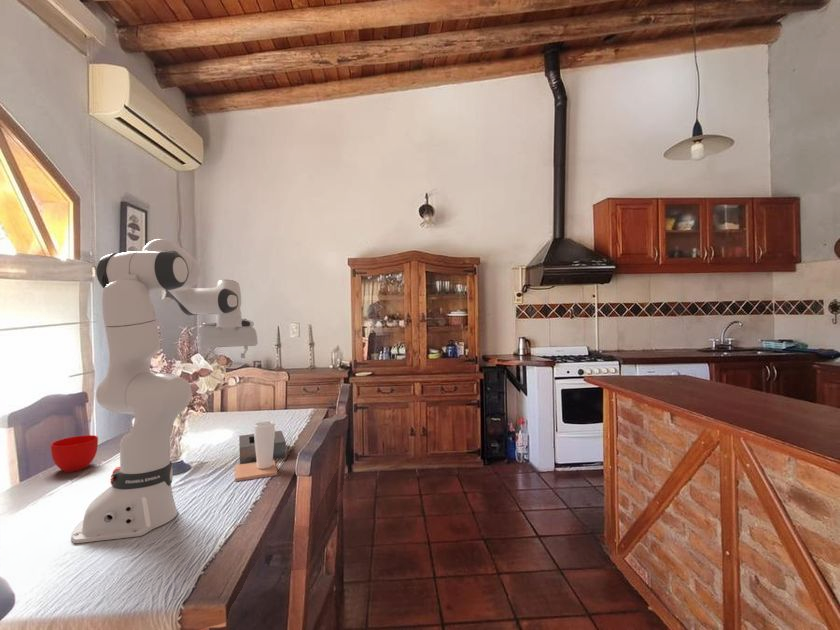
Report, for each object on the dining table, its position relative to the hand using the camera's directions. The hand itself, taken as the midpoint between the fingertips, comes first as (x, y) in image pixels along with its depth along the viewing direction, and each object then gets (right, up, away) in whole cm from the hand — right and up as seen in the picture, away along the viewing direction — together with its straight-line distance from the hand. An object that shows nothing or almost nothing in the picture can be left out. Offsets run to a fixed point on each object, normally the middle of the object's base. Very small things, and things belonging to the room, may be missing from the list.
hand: (229, 358), depth 162 cm
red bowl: (-50, -38, -10) cm, 64 cm away
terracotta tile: (+16, -37, -17) cm, 44 cm away
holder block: (+12, -37, +1) cm, 39 cm away
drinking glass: (+19, -36, -15) cm, 44 cm away
